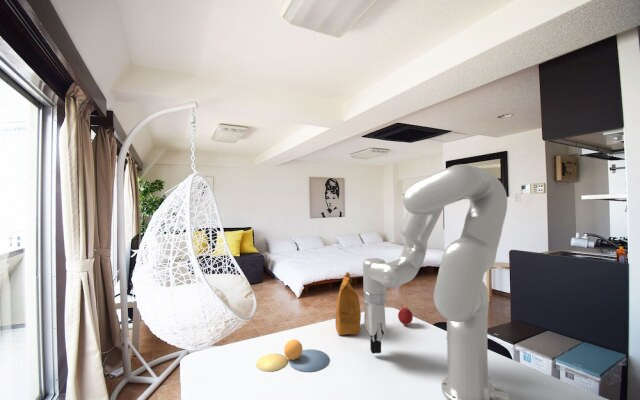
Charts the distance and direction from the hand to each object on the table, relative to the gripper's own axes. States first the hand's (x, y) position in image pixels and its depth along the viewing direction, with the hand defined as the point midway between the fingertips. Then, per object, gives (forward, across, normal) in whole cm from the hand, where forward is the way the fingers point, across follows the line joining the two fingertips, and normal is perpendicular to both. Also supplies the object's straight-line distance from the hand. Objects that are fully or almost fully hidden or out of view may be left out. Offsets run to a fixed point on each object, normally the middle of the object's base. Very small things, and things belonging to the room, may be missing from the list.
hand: (375, 351), depth 96 cm
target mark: (+2, 0, -22) cm, 22 cm away
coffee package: (+2, -21, -6) cm, 22 cm away
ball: (-2, -2, -27) cm, 27 cm away
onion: (+2, -22, +18) cm, 29 cm away
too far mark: (+2, 0, -34) cm, 34 cm away
